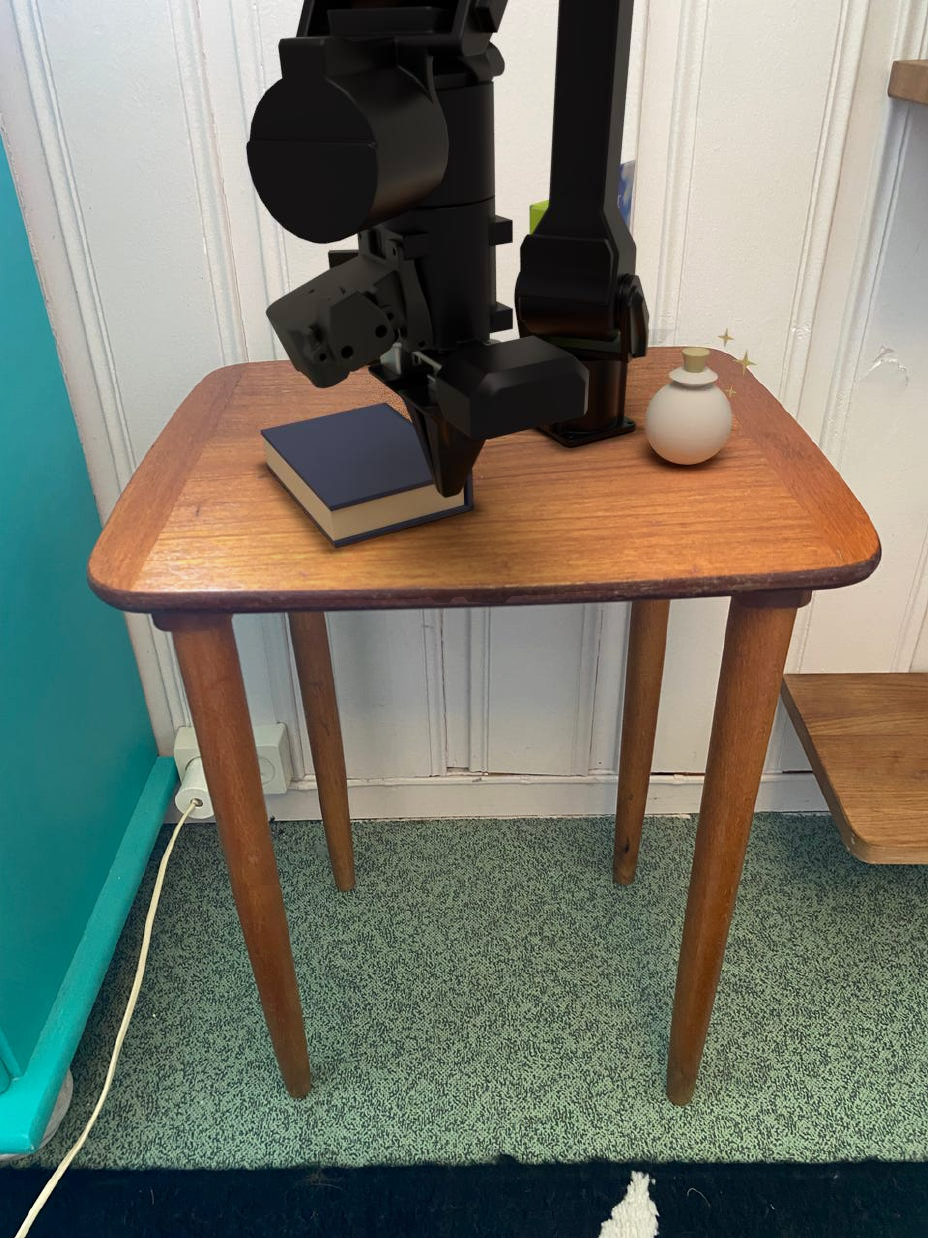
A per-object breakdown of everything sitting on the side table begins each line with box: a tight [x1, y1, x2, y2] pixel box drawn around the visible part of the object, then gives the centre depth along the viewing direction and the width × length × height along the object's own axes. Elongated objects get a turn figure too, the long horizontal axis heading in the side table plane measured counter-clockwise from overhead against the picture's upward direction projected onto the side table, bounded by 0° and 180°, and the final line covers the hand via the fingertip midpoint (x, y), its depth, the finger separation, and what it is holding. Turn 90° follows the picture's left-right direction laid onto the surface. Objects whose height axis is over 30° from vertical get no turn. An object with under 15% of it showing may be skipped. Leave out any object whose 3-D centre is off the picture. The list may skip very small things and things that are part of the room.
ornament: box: [644, 328, 758, 466], centre depth 63 cm, size 6×7×10 cm
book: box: [260, 401, 475, 549], centre depth 64 cm, size 10×14×3 cm
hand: (448, 494), depth 52 cm, fingers closed
